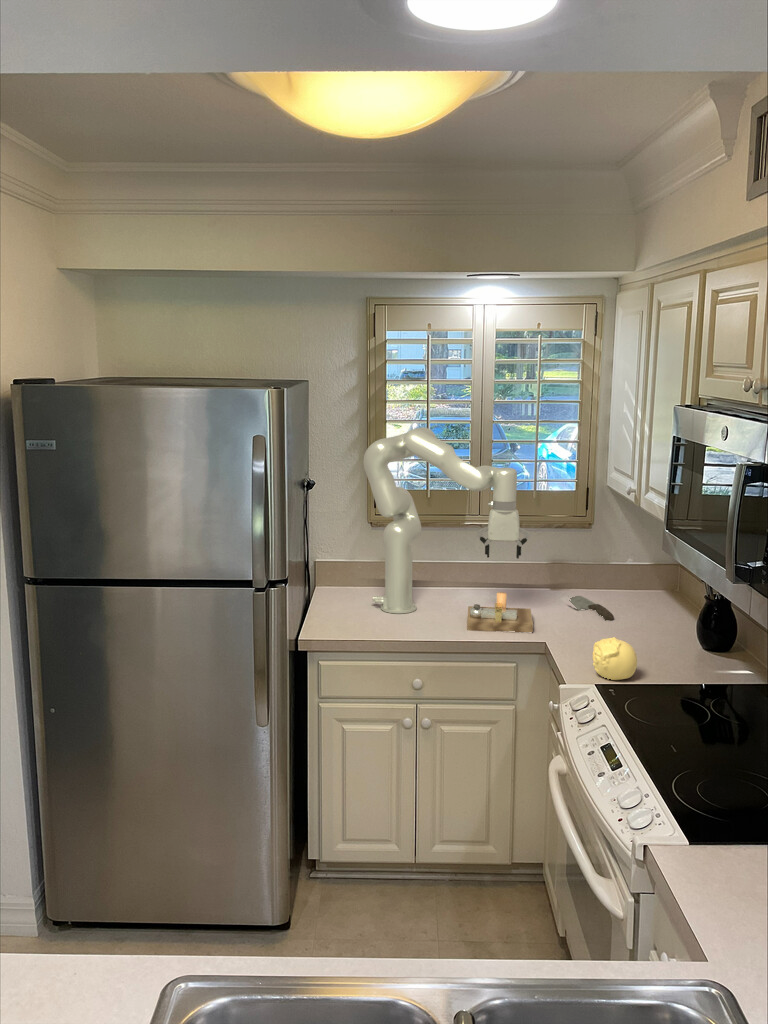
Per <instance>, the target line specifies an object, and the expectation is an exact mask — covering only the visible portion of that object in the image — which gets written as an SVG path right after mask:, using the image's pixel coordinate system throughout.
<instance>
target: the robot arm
mask: <svg viewBox="0 0 768 1024" xmlns="http://www.w3.org/2000/svg"><path fill="white" fill-rule="evenodd" d="M363 455H364V456H363V468H364V472H365V474H366V477H367V479H368V482H369V486H370V490H371V492H372V496H373V499H374V501H375V502H374V503H375V506H376V508H377V511H378V513H379V515H380V516H382V517H384V518H393V521H391V522H389V523H388V524H386V526H385V528H384V530H383V534H382V542H383V547H384V569H385V571H384V595H381V596H378V595H373V596H372V602H374V603H375V604H380V610H382V611H383V612H384V613H390V614H408V613H412V612H415V611H416V610H417V604H415V603H414V602H413V552H412V548H411V544H412V543H414V542H416V541H417V540H418V539H419V538H420V536H421V534H422V522H421V520H420V518H419V516H420V515H419V514H418V511H417V507H416V505H415V501H414V498H413V496H412V495H411V494H410V492H409V491H408V489H406V488H404V487H400V486H397V484H396V482H395V477H394V475H393V473H392V471H391V470H390V468H389V466H388V464H390V463H393V462H398V461H400V460H404V459H407V458H410V457H414V456H415V457H417V458H419V459H421V460H422V461H424V462H427V463H428V464H430V465H431V466H433V467H435V468H437V469H439V470H440V472H442V473H443V474H444V475H445V476H446V477H447V478H448V479H450V480H451V481H453V482H454V483H456V484H458V485H460V486H461V487H463V488H465V489H467V490H469V491H473V492H481V491H484V490H486V489H489V488H492V500H491V501H488V505H487V506H488V507H491V509H490V511H489V515H488V521H487V523H488V525H487V526H485V527H483V528H481V529H479V530H477V531H476V535H477V537H478V538H479V540H480V542H481V543H482V544H483V545H484V555H485V556H486V558H490V543H491V542H515V543H516V553H515V554H516V555H515V556H516V559H517V560H518V559H520V558H519V557H520V556H522V547H523V545H525V543H527V541H528V539H529V538H530V537H531V532H529V531H528V530H526V529H524V528H522V527H520V514H519V510H518V509H517V491H518V490H517V489H518V487H517V485H518V471H517V470H516V469H515V468H513V467H512V468H511V467H496V466H491V465H479V466H477V467H476V466H474V465H472V464H470V463H468V462H466V461H464V460H463V459H461V458H460V457H459V456H458V455H457V454H456V452H455V449H454V447H453V446H452V445H450V444H449V443H446V442H444V441H443V440H441V439H438V438H437V436H436V433H434V431H433V430H432V429H430V428H428V427H417V428H414V429H413V428H412V429H410V430H409V431H408V432H405V433H402V434H398V435H393V436H390V437H384V438H380V439H377V440H376V441H374V442H373V443H371V444H370V445H369V446H368V447H367V449H366V451H365V452H364V454H363ZM486 532H487V538H485V537H484V535H483V534H485V533H486ZM520 533H521V534H523V535H524V537H523V538H522V539H520Z"/></svg>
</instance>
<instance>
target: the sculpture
mask: <svg viewBox="0 0 768 1024" xmlns="http://www.w3.org/2000/svg"><path fill="white" fill-rule="evenodd" d="M592 648H593V651H592V661H593V662H592V666H593V668H594V670H595V671H596V673H597V674H598V675H599V676H601V677H602V678H603V677H604V679H605V678H607V679H606V680H609V679H611V680H610V681H620V680H626V679H629V678H631V677H633V675H634V674H635V673H636V670H637V667H638V656H637V653H636V650H635V649H634V647H633V646H632V645H631V644H629V643H628V642H626V641H624V640H621V639H617V638H616V637H614V636H613V637H608V638H601V639H600V640H598V641H596V642H594V644H593V647H592Z"/></svg>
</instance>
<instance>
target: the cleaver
mask: <svg viewBox="0 0 768 1024" xmlns="http://www.w3.org/2000/svg"><path fill="white" fill-rule="evenodd" d="M574 596H575V597H572V598H570V599H571V601H570V600H569V601H570V602H571V603H572V604H573V605H574V606H575V607H576V608H577V609H578V610H577V611H582V610H581V609H593V610H592V611H594V610H596V611H595V612H596V614H597V613H598V614H599V615H598V614H597V615H598V616H600V615H601V616H600V617H602V616H603V617H602V619H605V620H604V621H606V620H610V621H613V620H615V619H614V618H615V617H614V615H613V613H612V612H611V611H609V610H608V609H607V608H606V607H604V606H603V605H602V604H599V603H595V602H593V601H592V600H590V599H588V598H586V597H584V596H582V595H574Z"/></svg>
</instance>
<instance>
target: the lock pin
mask: <svg viewBox="0 0 768 1024" xmlns="http://www.w3.org/2000/svg"><path fill="white" fill-rule="evenodd" d="M507 596H508V595H507V592H503V591H498V592H496V603H502V609H504V610H506V608H507Z"/></svg>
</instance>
